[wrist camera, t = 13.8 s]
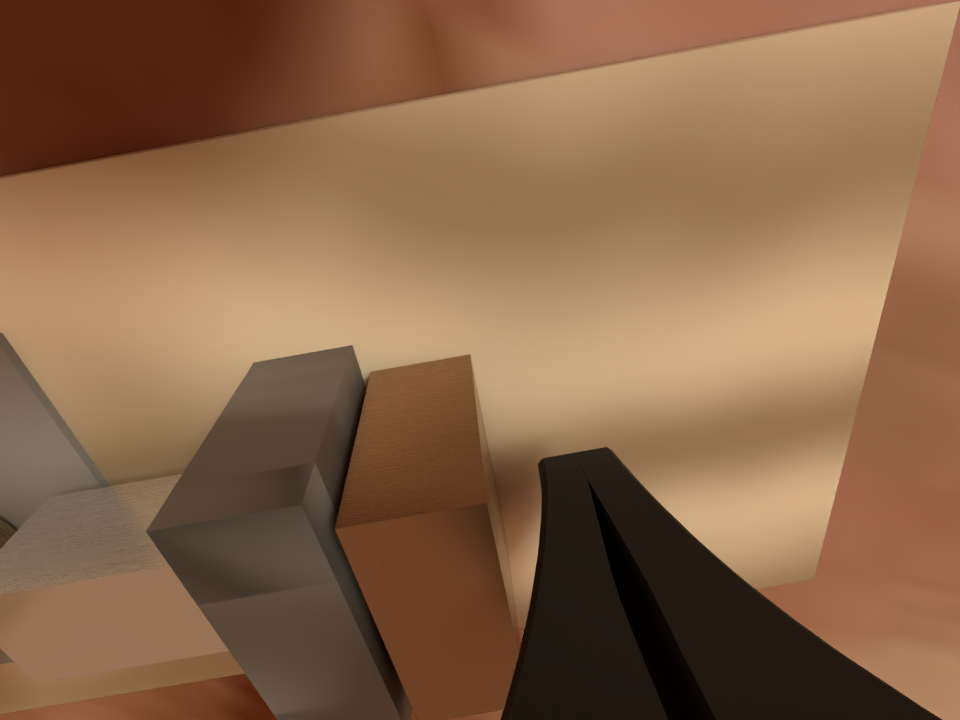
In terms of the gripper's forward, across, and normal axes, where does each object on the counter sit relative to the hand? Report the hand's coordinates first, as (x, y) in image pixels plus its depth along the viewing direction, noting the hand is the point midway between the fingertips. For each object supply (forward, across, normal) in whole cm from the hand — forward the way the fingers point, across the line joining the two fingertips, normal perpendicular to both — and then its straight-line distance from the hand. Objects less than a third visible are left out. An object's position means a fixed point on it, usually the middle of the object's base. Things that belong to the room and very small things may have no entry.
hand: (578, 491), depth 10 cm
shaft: (+2, +6, 0) cm, 6 cm away
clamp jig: (+3, +7, 0) cm, 8 cm away
